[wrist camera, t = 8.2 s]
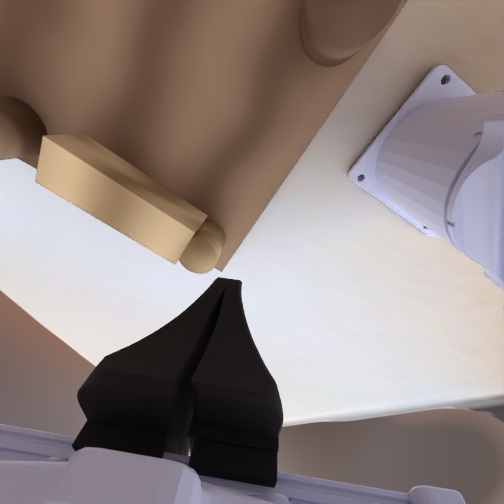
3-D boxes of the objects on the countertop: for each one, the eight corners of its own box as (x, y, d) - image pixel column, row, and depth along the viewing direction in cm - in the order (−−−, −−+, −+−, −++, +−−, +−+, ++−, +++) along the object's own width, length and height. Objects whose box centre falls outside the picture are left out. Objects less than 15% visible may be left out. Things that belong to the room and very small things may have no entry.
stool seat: (388, 18, 14) (465, -55, 8) (227, 257, 23) (210, 302, 17) (43, -302, 10) (-265, -858, 4) (18, 138, 19) (-90, 145, 14)
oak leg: (233, 232, 19) (225, 252, 16) (213, 259, 20) (203, 281, 17) (83, 133, 16) (42, 135, 13) (73, 172, 17) (35, 181, 15)
